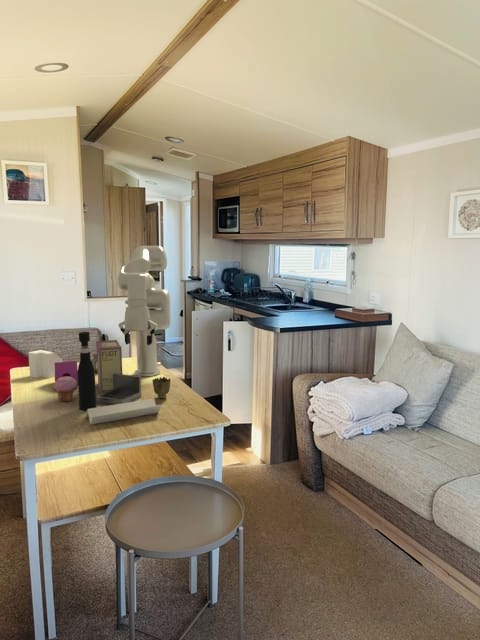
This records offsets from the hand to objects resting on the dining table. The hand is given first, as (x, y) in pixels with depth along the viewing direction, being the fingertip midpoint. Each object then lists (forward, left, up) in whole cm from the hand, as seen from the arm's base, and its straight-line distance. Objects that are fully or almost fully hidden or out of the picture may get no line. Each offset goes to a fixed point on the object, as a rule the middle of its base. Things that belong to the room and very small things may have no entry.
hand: (138, 344), depth 202 cm
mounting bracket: (+1, -38, -22) cm, 44 cm away
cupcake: (+17, -24, -22) cm, 37 cm away
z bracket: (+25, +9, -22) cm, 35 cm away
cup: (0, +11, -22) cm, 25 cm away
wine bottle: (+22, -9, -22) cm, 33 cm away
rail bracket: (+9, -4, -22) cm, 24 cm away
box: (-4, -18, -22) cm, 29 cm away
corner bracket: (-10, -60, -22) cm, 65 cm away
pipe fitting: (-27, -42, -22) cm, 55 cm away
